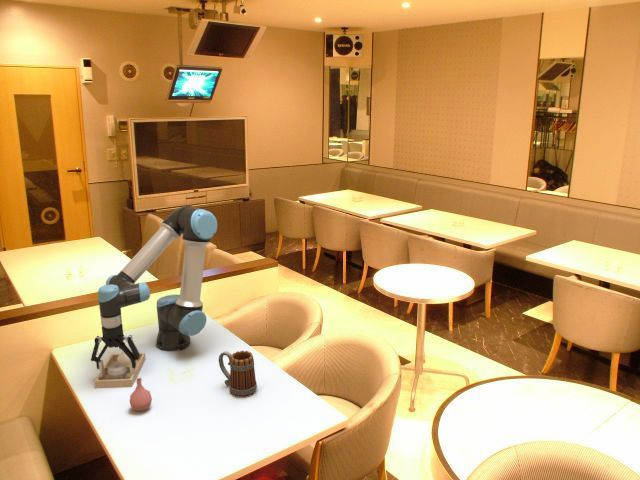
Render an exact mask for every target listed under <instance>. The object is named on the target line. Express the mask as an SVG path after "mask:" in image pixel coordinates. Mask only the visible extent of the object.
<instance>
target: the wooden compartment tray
mask: <svg viewBox="0 0 640 480" xmlns="http://www.w3.org/2000/svg"><path fill="white" fill-rule="evenodd" d="M120 354H121V353H113V354H112V353H111V355H109V357H108V359H107V361H106V362H105V364H103V366H104V376H103V378H100V372H99V373H98V375H97V376H96V379H95V380H94V388H95V389H113V388H133V386H134V384H135V382H136V381H137V379H138V377H139V376H138V375H139V374H140V372H141V370H142V368H143V366H144V363H146V360H147V358H146V352H139V354H140V357H139V359H138V360H136V367H135V368H134V372H133V374H132V376H131V374H130V365H129V366H126V367H127V374H126V377H125V378H124V379H115V380H111V379H110V378H109V376H108V373H107V369H108V367H109V366H110V365H112V364H114V363H117V358H118V356H119V355H120Z"/></svg>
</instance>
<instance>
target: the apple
mask: <svg viewBox="0 0 640 480" xmlns="http://www.w3.org/2000/svg"><path fill="white" fill-rule="evenodd" d="M107 373H108V376H109V378H110V379H111V380H115V379H124V378H125V377H126V374H127V367H126V365H125V364H124V363H120V362H119V363H114V364H112V365H110V366H109V367H108V369H107Z"/></svg>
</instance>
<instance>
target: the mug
mask: <svg viewBox="0 0 640 480" xmlns="http://www.w3.org/2000/svg"><path fill="white" fill-rule="evenodd" d="M224 356H226V357H227V358H228V360H229V361H228V363H227V365H228V366H229V367H230V370H229V371H230V372H229V371H228V370H227V368H226V367H225V364H224ZM218 365H219V368H220V370H221V372H222V374H223V376H225V378H226V380H223V381H224V385H226V386H228V387H229V392H230V394H231V395H232V396H234V397H237V398H247V397H250V396H252V395H253V394H255V393H256V391H257V388H258V385H257V379H256V372H255V371H256V370H255V359H254V356H253V353H252V352H250V351H248V350H240V351H236V352H233V353H231V352H230V351H228V350H227V351H223V352H221V353H220V354H219V356H218Z"/></svg>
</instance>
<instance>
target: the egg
mask: <svg viewBox="0 0 640 480" xmlns="http://www.w3.org/2000/svg"><path fill="white" fill-rule="evenodd" d="M119 354H120V355H119V356H118V358H117V363H119V362H120V363H124V364H125V365H126V366H129V361H130V359H129V357H128V356H127V355H126V354H125V353H124V352H121V353H119Z"/></svg>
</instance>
